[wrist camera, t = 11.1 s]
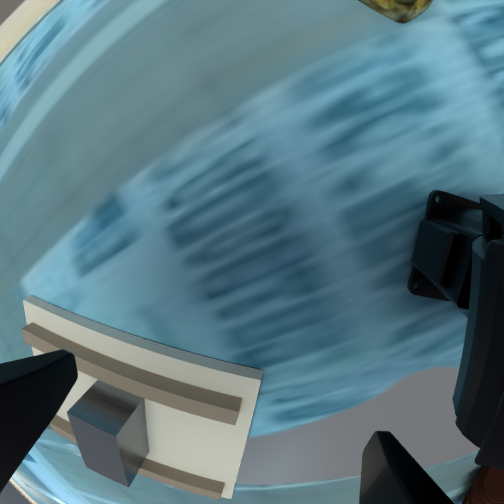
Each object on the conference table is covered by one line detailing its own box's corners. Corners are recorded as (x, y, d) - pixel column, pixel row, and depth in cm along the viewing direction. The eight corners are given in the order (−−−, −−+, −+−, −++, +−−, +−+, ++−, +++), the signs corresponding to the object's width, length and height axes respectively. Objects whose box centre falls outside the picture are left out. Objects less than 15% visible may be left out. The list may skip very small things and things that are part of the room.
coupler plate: (263, 370, 21) (257, 394, 18) (233, 490, 25) (227, 509, 23) (31, 295, 23) (12, 305, 21) (61, 423, 28) (50, 436, 25)
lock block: (144, 396, 22) (115, 436, 17) (149, 451, 24) (128, 487, 19) (98, 378, 22) (66, 412, 18) (109, 435, 24) (86, 466, 20)
